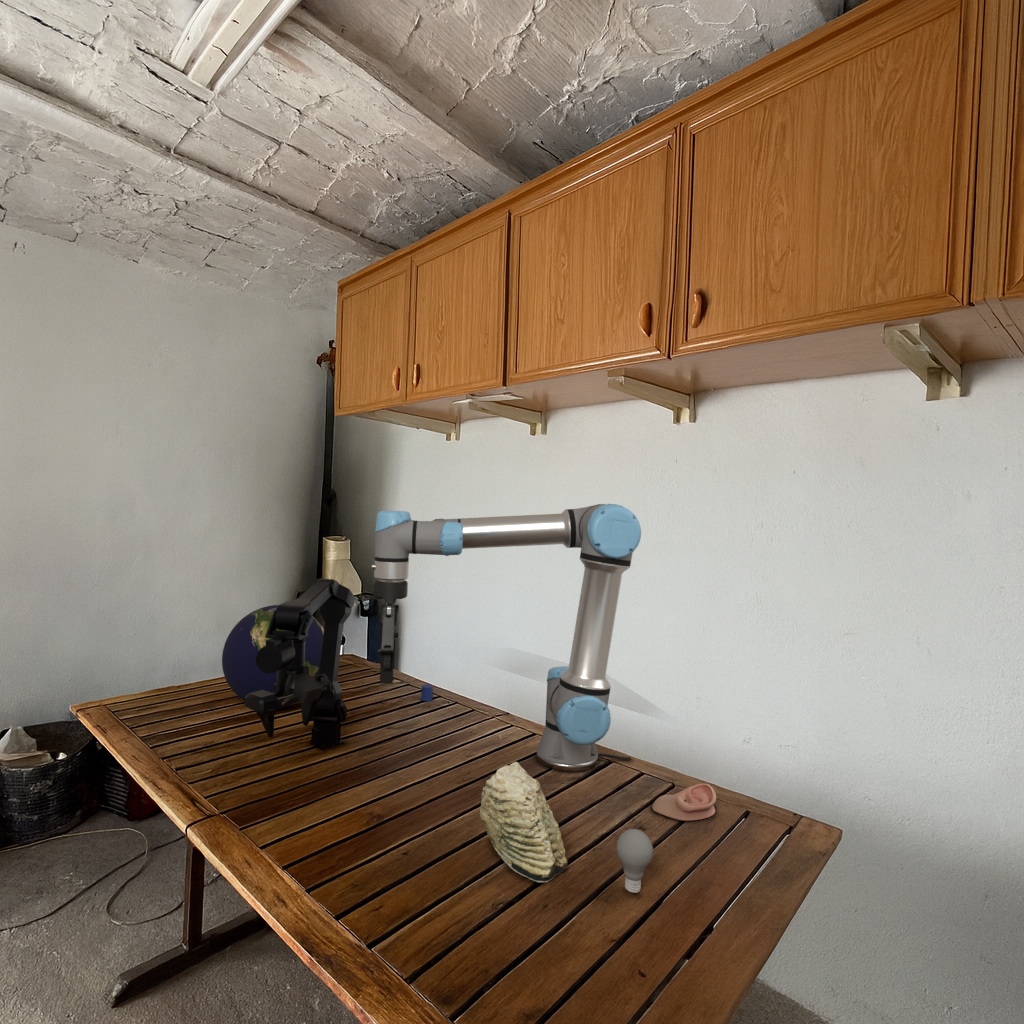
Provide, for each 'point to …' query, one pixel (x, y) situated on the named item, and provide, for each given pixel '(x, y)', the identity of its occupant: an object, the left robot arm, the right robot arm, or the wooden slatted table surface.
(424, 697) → the cylinder
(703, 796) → the anatomical model
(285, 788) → the wooden slatted table surface
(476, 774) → the wooden slatted table surface
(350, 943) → the wooden slatted table surface
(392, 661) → the right robot arm
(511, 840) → the fossil
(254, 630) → the globe
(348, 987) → the wooden slatted table surface
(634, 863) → the light bulb
